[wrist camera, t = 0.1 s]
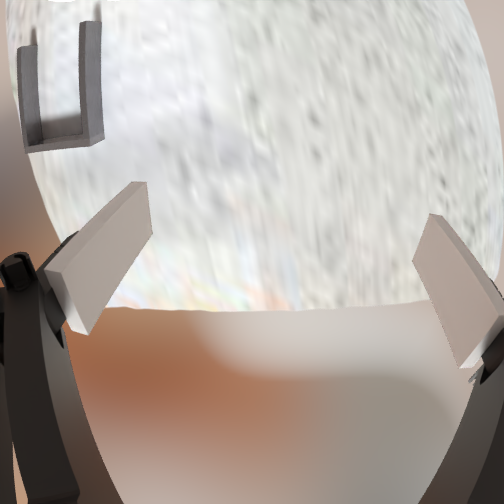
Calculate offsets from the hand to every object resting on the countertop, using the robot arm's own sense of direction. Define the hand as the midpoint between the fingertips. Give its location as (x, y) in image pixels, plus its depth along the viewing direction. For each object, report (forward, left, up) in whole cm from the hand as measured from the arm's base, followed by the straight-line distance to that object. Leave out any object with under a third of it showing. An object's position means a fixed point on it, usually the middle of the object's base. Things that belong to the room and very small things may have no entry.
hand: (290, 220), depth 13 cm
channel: (-7, -35, -28) cm, 45 cm away
